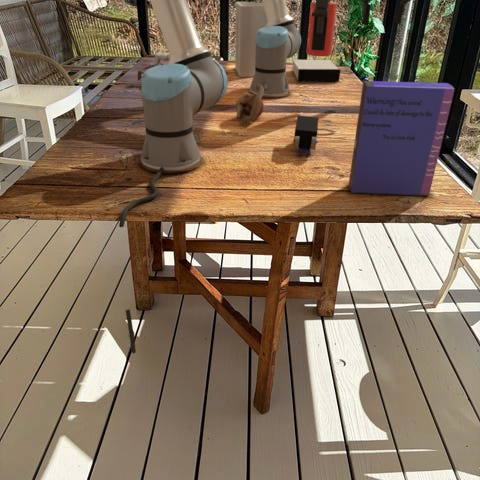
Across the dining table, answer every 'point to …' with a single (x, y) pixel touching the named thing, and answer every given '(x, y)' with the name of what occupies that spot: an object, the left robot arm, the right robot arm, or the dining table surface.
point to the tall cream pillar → (247, 35)
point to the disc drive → (316, 70)
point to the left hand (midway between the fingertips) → (318, 47)
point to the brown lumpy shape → (250, 106)
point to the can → (329, 31)
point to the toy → (163, 58)
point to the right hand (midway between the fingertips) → (381, 24)
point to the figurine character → (305, 134)
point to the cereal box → (399, 137)
